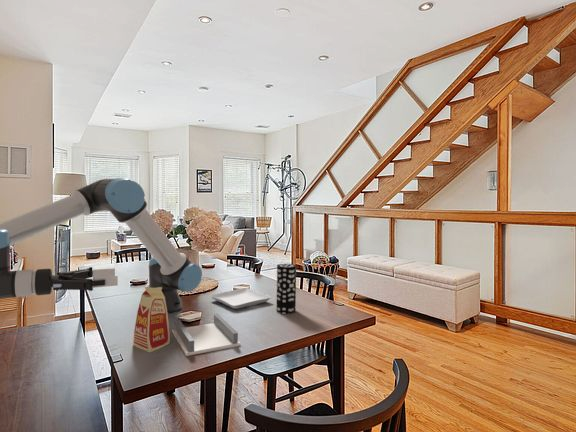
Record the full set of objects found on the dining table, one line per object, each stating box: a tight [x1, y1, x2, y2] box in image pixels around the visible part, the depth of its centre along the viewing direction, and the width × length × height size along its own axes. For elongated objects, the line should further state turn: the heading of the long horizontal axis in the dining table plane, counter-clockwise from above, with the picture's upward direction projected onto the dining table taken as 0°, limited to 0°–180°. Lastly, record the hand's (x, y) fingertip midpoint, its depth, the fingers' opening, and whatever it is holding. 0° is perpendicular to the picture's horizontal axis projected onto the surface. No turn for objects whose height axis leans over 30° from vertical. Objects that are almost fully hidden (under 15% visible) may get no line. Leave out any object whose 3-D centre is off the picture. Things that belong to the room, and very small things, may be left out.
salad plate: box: [209, 287, 272, 310], centre depth 173 cm, size 21×21×3 cm
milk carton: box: [132, 286, 171, 353], centre depth 123 cm, size 9×9×20 cm
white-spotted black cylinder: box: [276, 263, 297, 315], centre depth 160 cm, size 8×8×20 cm
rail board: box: [171, 313, 242, 357], centre depth 129 cm, size 22×18×4 cm
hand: (116, 276), depth 117 cm, fingers open, 13 cm apart
